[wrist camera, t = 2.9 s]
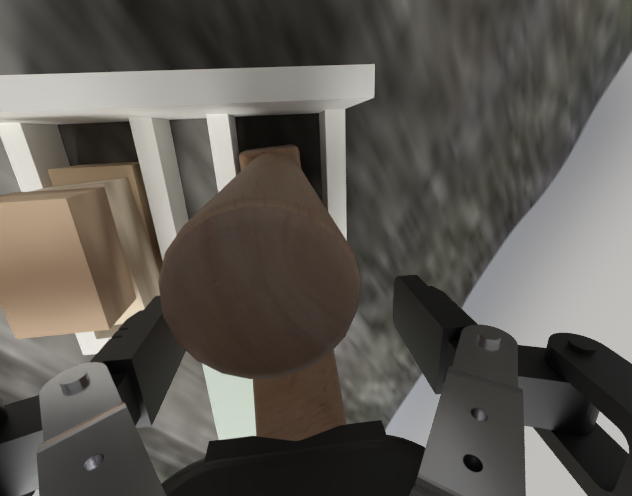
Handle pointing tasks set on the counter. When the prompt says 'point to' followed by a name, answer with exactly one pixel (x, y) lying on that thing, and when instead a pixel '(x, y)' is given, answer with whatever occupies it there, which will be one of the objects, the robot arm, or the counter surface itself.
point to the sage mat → (231, 404)
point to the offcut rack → (155, 132)
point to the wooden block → (266, 292)
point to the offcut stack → (78, 251)
